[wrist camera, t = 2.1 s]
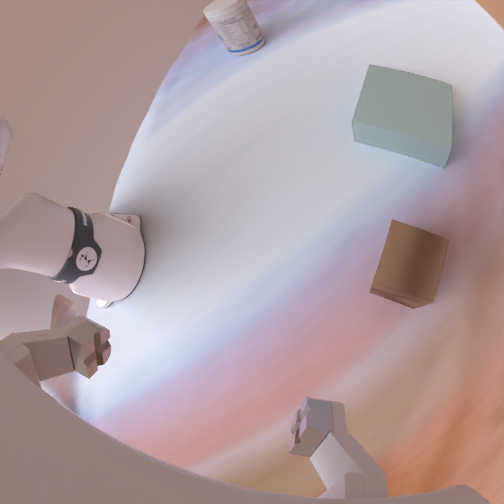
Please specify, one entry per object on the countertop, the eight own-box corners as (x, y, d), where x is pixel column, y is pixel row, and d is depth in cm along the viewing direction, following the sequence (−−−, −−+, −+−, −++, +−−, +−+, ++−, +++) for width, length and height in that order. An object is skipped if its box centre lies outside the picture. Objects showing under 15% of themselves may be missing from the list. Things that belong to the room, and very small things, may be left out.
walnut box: (369, 292, 30) (373, 280, 22) (384, 246, 31) (392, 219, 23) (413, 308, 28) (432, 302, 20) (427, 261, 28) (448, 239, 20)
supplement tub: (227, 47, 55) (200, 6, 42) (261, 32, 52) (237, -10, 39) (233, 62, 52) (203, 16, 38) (271, 46, 49) (246, -2, 36)
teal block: (354, 143, 36) (351, 121, 32) (371, 85, 37) (369, 64, 33) (443, 169, 30) (451, 149, 25) (447, 105, 31) (451, 85, 27)
